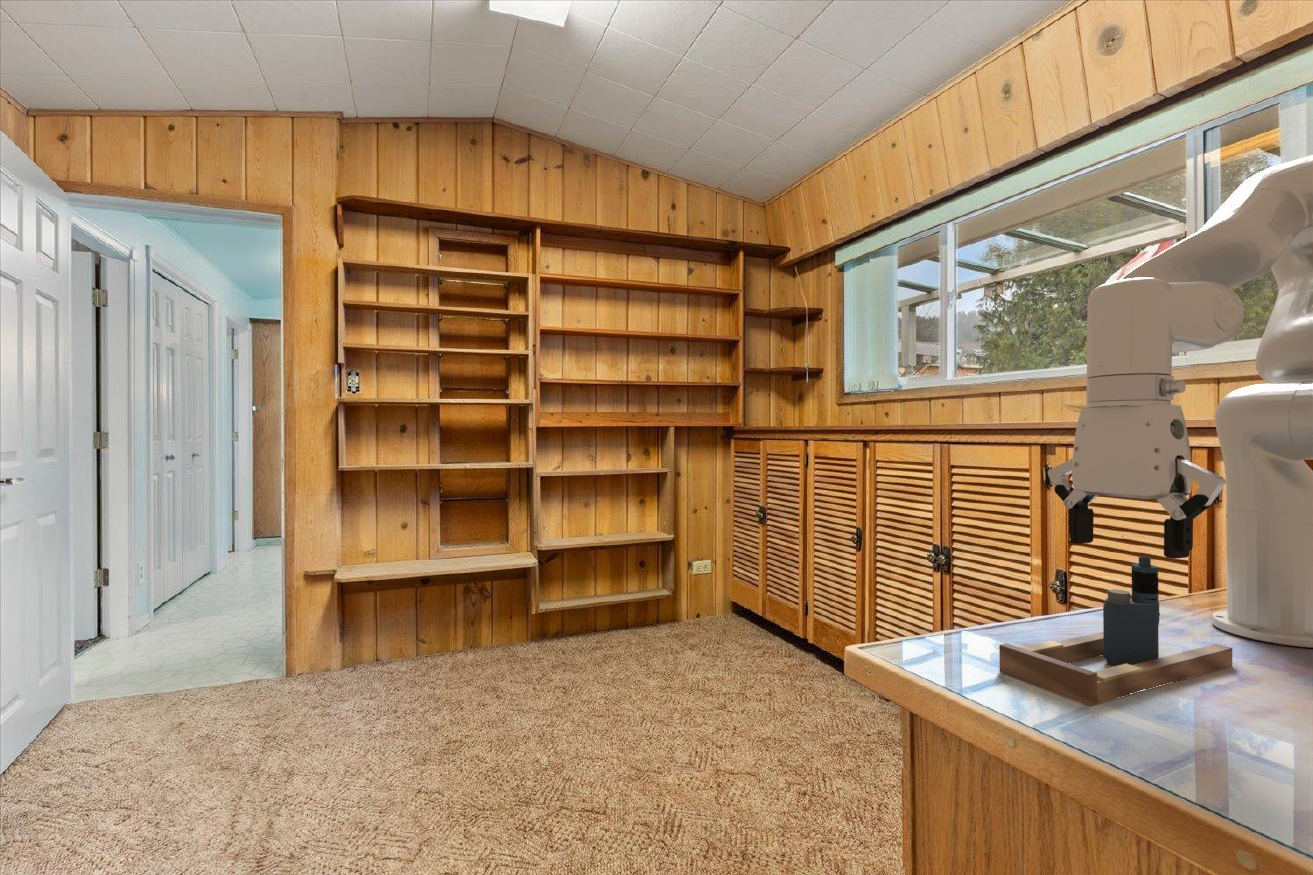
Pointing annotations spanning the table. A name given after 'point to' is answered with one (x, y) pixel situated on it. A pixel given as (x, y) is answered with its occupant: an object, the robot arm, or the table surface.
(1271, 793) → the table surface
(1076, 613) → the table surface
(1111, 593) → the vaping device
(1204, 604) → the table surface
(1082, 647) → the rail channel
